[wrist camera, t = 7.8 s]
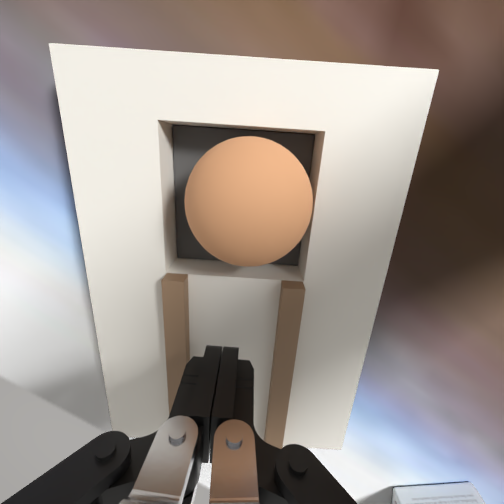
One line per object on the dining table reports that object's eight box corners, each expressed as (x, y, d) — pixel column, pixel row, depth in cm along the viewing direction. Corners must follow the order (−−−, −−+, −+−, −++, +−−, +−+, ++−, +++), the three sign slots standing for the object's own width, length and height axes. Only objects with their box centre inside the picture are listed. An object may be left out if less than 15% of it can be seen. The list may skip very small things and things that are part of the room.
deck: (82, 60, 12) (31, 34, 9) (409, 82, 12) (454, 62, 9) (127, 407, 19) (106, 449, 16) (332, 419, 19) (344, 463, 16)
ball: (202, 185, 7) (175, 288, 10) (361, 212, 9) (291, 291, 12) (195, 93, 10) (176, 198, 13) (315, 128, 11) (269, 212, 15)
